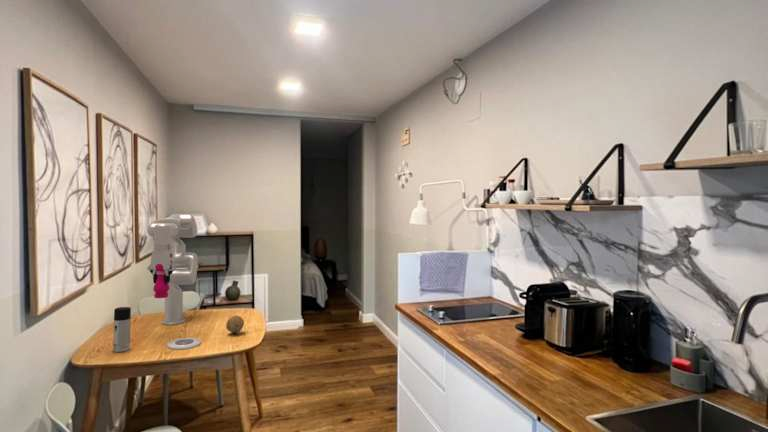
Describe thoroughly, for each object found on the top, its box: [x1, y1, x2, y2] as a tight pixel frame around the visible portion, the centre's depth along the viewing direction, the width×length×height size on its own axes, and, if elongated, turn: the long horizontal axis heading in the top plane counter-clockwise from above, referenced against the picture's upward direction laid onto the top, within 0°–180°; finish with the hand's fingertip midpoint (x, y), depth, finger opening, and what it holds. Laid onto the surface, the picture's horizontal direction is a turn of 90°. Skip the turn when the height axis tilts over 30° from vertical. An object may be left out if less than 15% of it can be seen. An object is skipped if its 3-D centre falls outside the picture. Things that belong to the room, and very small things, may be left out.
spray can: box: [112, 306, 132, 353], centre depth 192 cm, size 7×7×20 cm
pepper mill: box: [152, 264, 169, 299], centre depth 209 cm, size 7×7×20 cm
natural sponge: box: [225, 315, 245, 334], centre depth 221 cm, size 9×9×10 cm
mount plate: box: [167, 337, 202, 351], centre depth 202 cm, size 15×15×1 cm
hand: (161, 282), depth 209 cm, fingers closed on pepper mill, 5 cm apart
